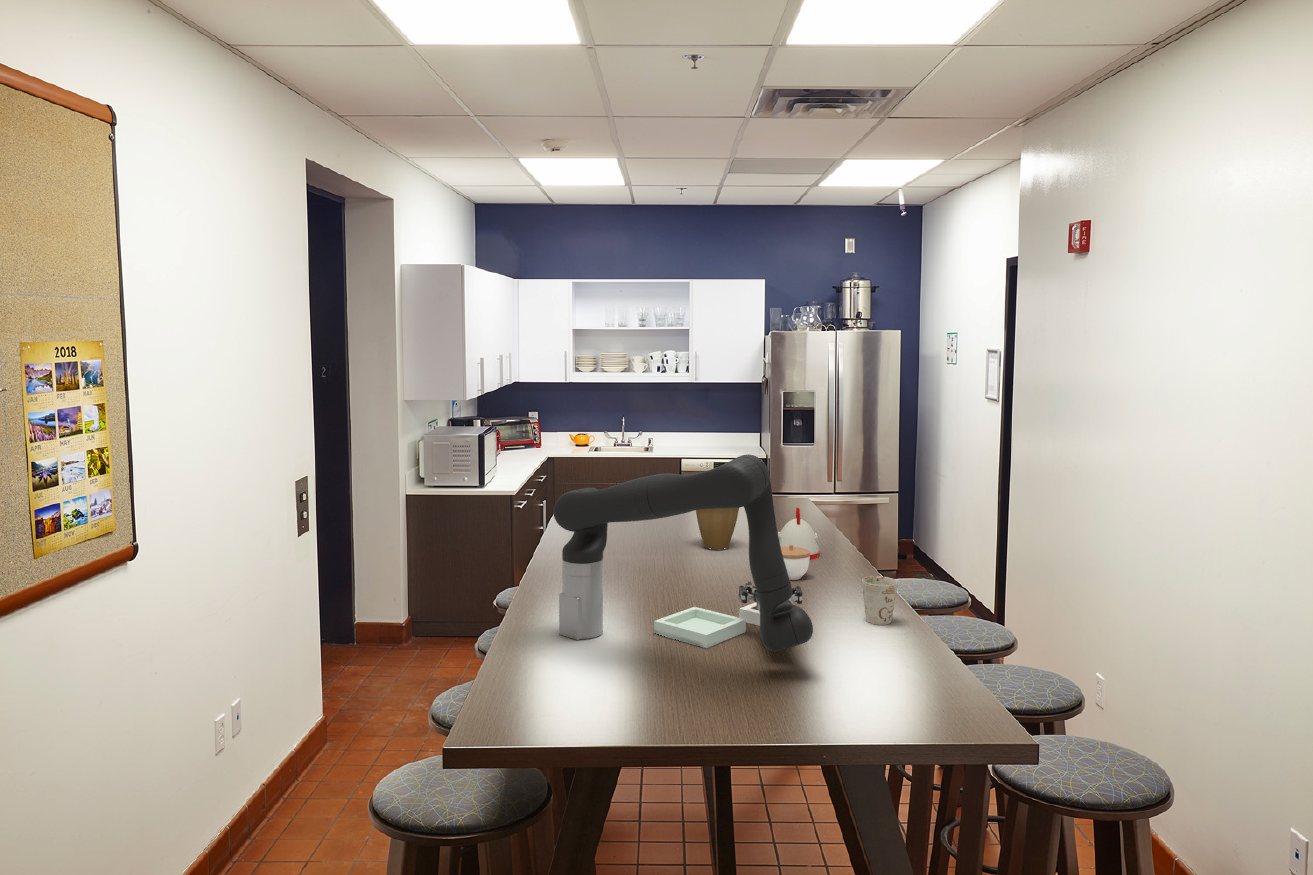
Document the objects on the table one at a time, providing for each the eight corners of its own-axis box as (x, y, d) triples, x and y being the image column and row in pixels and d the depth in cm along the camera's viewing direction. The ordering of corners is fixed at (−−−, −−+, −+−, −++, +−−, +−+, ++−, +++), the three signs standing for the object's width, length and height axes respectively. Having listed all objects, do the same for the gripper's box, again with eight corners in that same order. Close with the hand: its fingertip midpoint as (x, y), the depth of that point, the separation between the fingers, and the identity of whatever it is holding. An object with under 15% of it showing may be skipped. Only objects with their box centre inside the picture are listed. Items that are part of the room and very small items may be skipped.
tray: (706, 648, 193) (706, 634, 192) (654, 633, 202) (654, 620, 202) (745, 631, 204) (745, 619, 204) (694, 618, 214) (694, 606, 213)
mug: (871, 627, 208) (873, 586, 207) (846, 612, 220) (847, 572, 219) (903, 625, 210) (904, 583, 209) (876, 609, 222) (877, 570, 221)
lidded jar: (766, 578, 251) (766, 546, 250) (779, 570, 261) (779, 539, 260) (802, 583, 246) (803, 550, 245) (814, 575, 256) (815, 543, 255)
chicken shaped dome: (817, 551, 287) (818, 505, 286) (820, 561, 273) (822, 513, 272) (774, 549, 288) (775, 504, 287) (775, 559, 275) (776, 512, 273)
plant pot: (740, 553, 283) (741, 503, 281) (694, 552, 283) (695, 503, 281) (737, 543, 297) (738, 496, 296) (693, 542, 298) (694, 495, 296)
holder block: (770, 628, 207) (771, 616, 206) (739, 620, 212) (739, 608, 212) (791, 619, 214) (791, 607, 213) (760, 612, 219) (760, 600, 219)
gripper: (808, 589, 194) (797, 570, 210) (743, 588, 194) (737, 570, 210) (807, 622, 194) (796, 601, 211) (742, 621, 194) (736, 600, 211)
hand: (767, 585), depth 210 cm, fingers open, 8 cm apart
